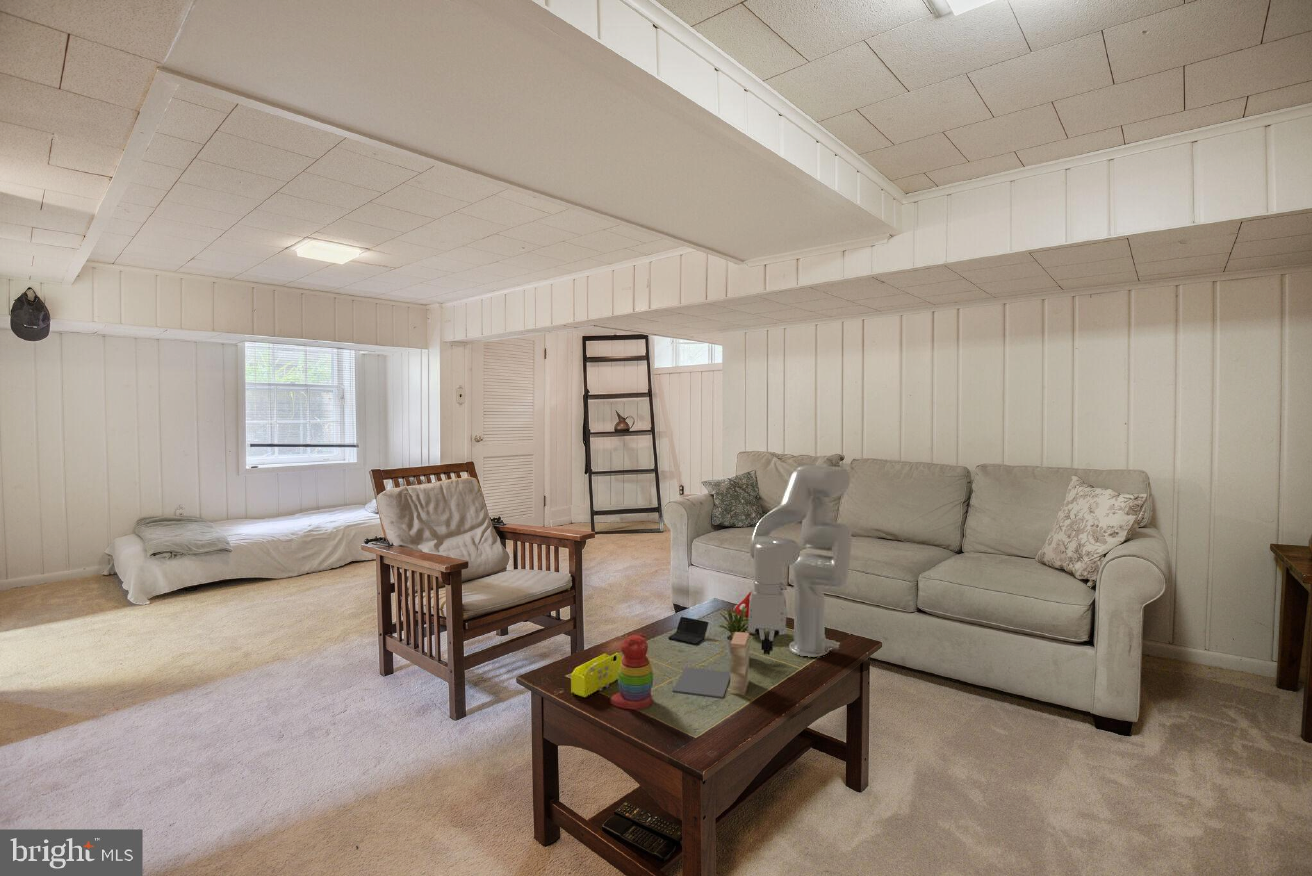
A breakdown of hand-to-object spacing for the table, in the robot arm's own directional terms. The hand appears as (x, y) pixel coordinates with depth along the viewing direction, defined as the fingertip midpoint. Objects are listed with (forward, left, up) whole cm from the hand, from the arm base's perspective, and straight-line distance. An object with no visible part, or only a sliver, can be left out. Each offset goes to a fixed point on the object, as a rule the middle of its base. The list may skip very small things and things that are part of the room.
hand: (767, 652), depth 170 cm
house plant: (+10, -19, -11) cm, 24 cm away
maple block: (+7, 0, -11) cm, 13 cm away
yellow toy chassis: (+46, +11, -11) cm, 49 cm away
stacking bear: (+33, +16, -11) cm, 39 cm away
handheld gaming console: (+29, -32, -11) cm, 45 cm away
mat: (+18, 0, -11) cm, 21 cm away
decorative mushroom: (+8, -43, -11) cm, 45 cm away
